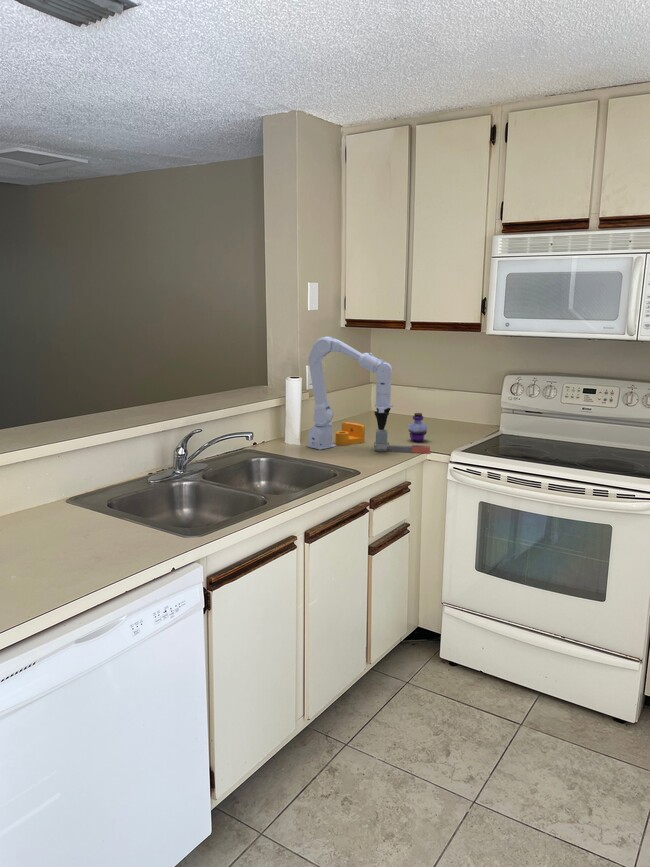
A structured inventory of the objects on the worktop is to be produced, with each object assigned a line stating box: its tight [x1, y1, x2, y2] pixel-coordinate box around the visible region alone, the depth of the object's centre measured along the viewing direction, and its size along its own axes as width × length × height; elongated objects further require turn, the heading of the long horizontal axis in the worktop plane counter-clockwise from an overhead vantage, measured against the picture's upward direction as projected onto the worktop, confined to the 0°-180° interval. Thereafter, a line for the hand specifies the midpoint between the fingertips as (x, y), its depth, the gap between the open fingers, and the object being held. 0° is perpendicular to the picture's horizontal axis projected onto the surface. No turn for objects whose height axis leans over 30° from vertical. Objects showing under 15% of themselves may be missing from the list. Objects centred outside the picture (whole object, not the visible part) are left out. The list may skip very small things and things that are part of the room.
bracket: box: [334, 421, 366, 446], centre depth 277 cm, size 11×7×12 cm
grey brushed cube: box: [375, 428, 389, 444], centre depth 264 cm, size 4×4×5 cm
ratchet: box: [373, 441, 431, 455], centre depth 263 cm, size 22×6×6 cm, turn 81°
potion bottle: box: [407, 412, 429, 444], centre depth 280 cm, size 9×9×12 cm
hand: (382, 427), depth 263 cm, fingers open, 7 cm apart
